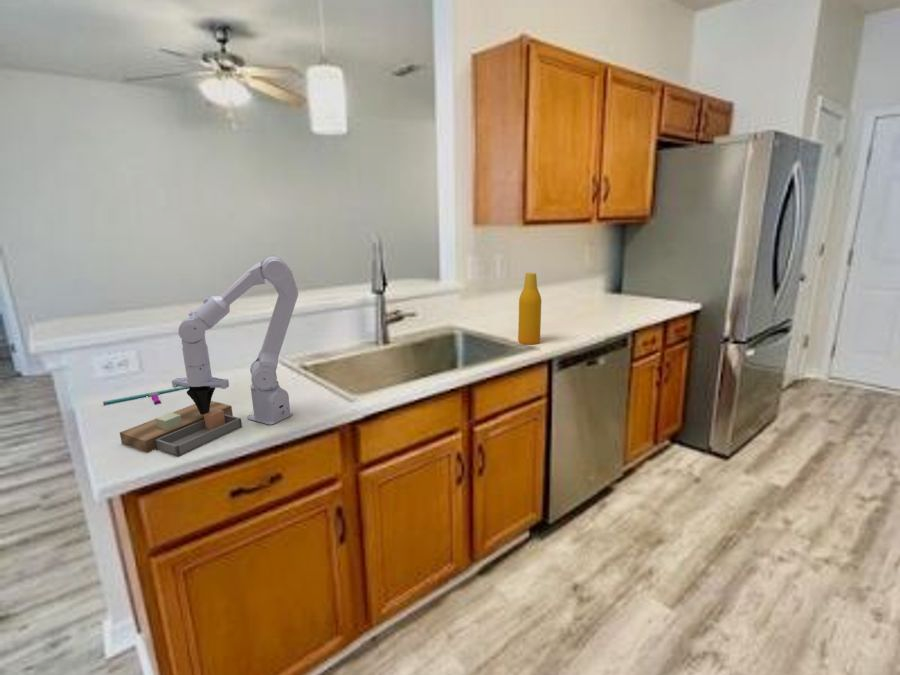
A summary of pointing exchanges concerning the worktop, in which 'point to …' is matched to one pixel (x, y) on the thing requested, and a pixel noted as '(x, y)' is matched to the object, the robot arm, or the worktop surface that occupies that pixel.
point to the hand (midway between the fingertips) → (204, 413)
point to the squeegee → (152, 394)
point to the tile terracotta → (214, 419)
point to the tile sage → (168, 421)
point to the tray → (195, 436)
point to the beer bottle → (529, 312)
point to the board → (149, 432)
